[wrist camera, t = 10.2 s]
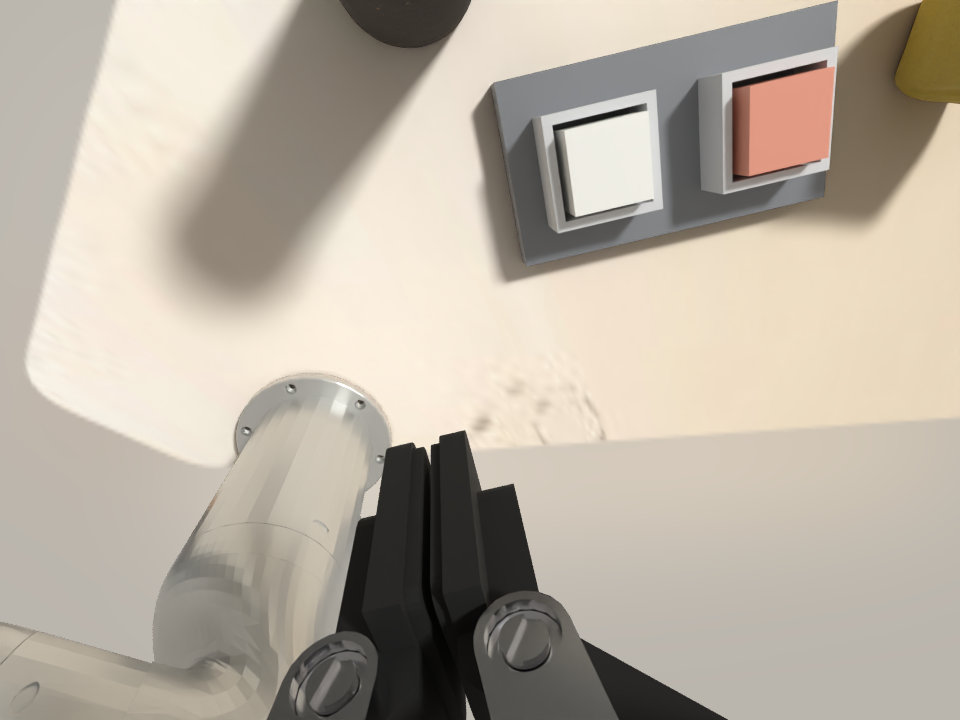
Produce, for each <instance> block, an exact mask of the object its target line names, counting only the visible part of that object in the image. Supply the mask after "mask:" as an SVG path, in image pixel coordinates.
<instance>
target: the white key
mask: <svg viewBox="0 0 960 720" xmlns="http://www.w3.org/2000/svg"><path fill="white" fill-rule="evenodd" d="M553 134H554V141H555V148H556V155H557V163H558V170H559V177H560V184H561V191H562V198H563V205H564V211H566V212H568V213H569V214H571V215H573V216H575V217H578V216H582V215H587V214H591V213H595V212H599V211H604V210H608V209H612V208H616V207H621V206H625V205H629V204H633V203H638V202H642V201H646V200H650V199H654V186H653V171H652V156H651V141H650V126H649V111H641V112H633V113H627V114H623V115H619V116H615V117H611V118H606V119H602V120H598V121H594V122H590V123H585V124H581V125H577V126H573V127H569V128H564V129H560V130H556V131H553Z"/></svg>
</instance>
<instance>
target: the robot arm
mask: <svg viewBox="0 0 960 720" xmlns="http://www.w3.org/2000/svg"><path fill="white" fill-rule="evenodd" d="M291 384H292V385H295V386H292V385H291ZM359 400H362V401H364V402H360V401H359ZM236 441H237V448H238V451H239V455H240V456H239V457H238V459H237V460H236V462H235V464H234V465H233V467H232V469H231V470H230V472H229V474H228V475H227V477H226V479H225V480H224V482H223V483H222V485H221V487H220V488H219V490H218V492H217V493H216V495H215V497H214V498H213V500H212V502H211V503H210V505H209V507H208V508H207V510H206V511H205V513H204V515H203V516H202V518H201V520H200V521H199V523H198V525H197V526H196V528H195V529H194V531H193V533H192V534H191V536H190V538H189V539H188V541H187V543H186V544H185V546H184V548H183V549H182V551H181V553H180V554H179V555H178V557H177V559H176V561H175V562H174V564H173V565H172V567H171V569H170V571H169V573H168V574H167V576H166V578H165V580H164V582H163V584H162V587H161V589H160V593H159V596H158V599H157V602H156V607H155V613H154V620H153V650H154V659H155V662H152V663H148V662H145V661H142V660H138V659H135V658H131V657H127V656H124V655H121V654H117V653H114V652H110V651H107V650H103V649H99V648H96V647H93V646H89V645H86V644H83V643H79V642H76V641H72V640H69V639H65V638H62V637H58V636H55V635H51V634H47V633H44V632H39V631H36V630H31V629H28V628H24V627H21V626H17V625H13V624H9V623H4V622H0V720H466V697H467V699H468V702H469V705H470V708H471V711H472V713H473V716H474V718H475V720H728V719H726V718H724V717H722V716H720V715H718V714H716V713H715V712H713V711H711V710H709V709H708V708H706V707H704V706H702V705H700V704H699V703H697V702H695V701H693V700H691V699H690V698H687V697H686V696H684V695H682V694H680V693H678V692H677V691H675V690H673V689H671V688H670V687H668V686H666V685H664V684H662V683H661V682H659V681H657V680H655V679H653V678H651V677H650V676H648V675H646V674H644V673H642V672H641V671H639V670H637V669H635V668H633V667H632V666H629V665H628V664H626V663H624V662H622V661H621V660H619V659H617V658H615V657H614V656H612V655H610V654H608V653H606V652H604V651H602V650H601V649H599V648H597V647H595V646H593V645H592V644H590V643H588V642H586V641H584V640H583V639H581V638H580V637H579V635H578V633H577V631H576V629H575V626H574V624H573V622H572V620H571V618H570V616H569V615H568V613H567V611H566V610H565V609H564V607H563V606H562V605H561V604H560V603H559V602H558V601H556V600H555V599H554V598H552V597H551V596H549V595H546V594H543V593H540V592H539V591H538V586H537V582H536V578H535V573H534V569H533V565H532V560H531V556H530V552H529V548H528V543H527V539H526V535H525V530H524V526H523V522H522V518H521V513H520V509H519V505H518V500H517V496H516V492H515V488H514V484H510V485H506V486H501V487H497V488H493V489H488V490H484V491H482V490H481V486H480V483H479V479H478V475H477V471H476V468H475V464H474V460H473V456H472V453H471V449H470V445H469V441H468V438H467V434H466V432H465V430H464V431H459V432H455V433H451V434H446V435H442V436H440V437H439V443H438V444H434V445H431V465H430V462H429V459H428V456H427V452H426V450H425V448H424V447H421V448H416V447H415V445H414V443H413V442H412V443H408V444H403V445H399V446H395V447H391V446H392V436H391V429H390V426H389V423H388V420H387V417H386V415H385V414H384V412H383V410H382V409H381V407H380V406H379V405H378V403H377V402H376V401H375V400H374V399H373V398H372V397H371V396H370V395H369V394H368V393H366V392H365V391H364V390H362V389H361V388H360V387H358V386H356V385H354V384H352V383H350V382H348V381H347V380H344V379H341V378H338V377H334V376H331V375H324V374H318V373H301V374H296V375H290V376H286V377H283V378H281V379H278V380H275V381H273V382H271V383H270V384H268V385H266V386H265V387H263V388H262V389H260V390H259V391H258V392H257V393H256V394H255V395H254V396H253V397H252V398H251V400H250V401H249V403H248V404H247V405H246V407H245V408H244V410H243V412H242V414H241V416H240V418H239V421H238V425H237V430H236ZM381 476H382V480H381V487H380V493H379V500H378V507H377V513H376V515H375V516H371V517H367V518H362V519H361V516H360V514H361V509H362V503H363V498H364V493H365V492H366V491H367V490H368V489H370V488H371V487H372V486H373V485H374V484H376V482H377V481H378V480H379V478H380V477H381ZM465 694H466V697H465Z"/></svg>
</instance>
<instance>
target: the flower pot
mask: <svg viewBox="0 0 960 720" xmlns="http://www.w3.org/2000/svg"><path fill="white" fill-rule="evenodd" d="M895 83H896V85H897V87H898V88H899V89H900V90H901V91H902V92H903V93H904V94H906V95H907V96H910V97H912V98H915V99H920V100H925V101H933V102H947V103H957V104H960V0H923V1H922V3H921V5H920V7H919V10H918V13H917V16H916V19H915V22H914V24H913V27H912V30H911V33H910V36H909V39H908V41H907V44H906V47H905V50H904V53H903V55H902V58H901V61H900V63H899V66H898V69H897V71H896V75H895Z"/></svg>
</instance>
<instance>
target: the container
mask: <svg viewBox="0 0 960 720" xmlns="http://www.w3.org/2000/svg"><path fill="white" fill-rule="evenodd" d="M340 1H341V3H342V4H343V6H344V7H345V9H346V10H347V12H348V13H349V14H350V16H351V17H352V18H353V19H354V21H355V22H356V23H357V24H358V25H359V26H360V27H361V28H362V29H363V30H364V31H366V32H367V33H368V34H370V35H371V36H372V37H374V38H376V39H377V40H379V41H382V42H384V43H387V44H389V45H393V46H397V47H407V48H415V47H422V46H426V45H429V44H432V43H434V42H436V41H438V40H440V39H442V38H443V37H445V36H446V35H447V34H449V33H450V32H451V31H452V30H453V29H454V28H455V27H456V26H457V25H458V23H459V22H460V21H461V19H462V18H463V16H464V15H465V13H466V11H467V9H468V7H469V5H470V2H471V0H340Z"/></svg>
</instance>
